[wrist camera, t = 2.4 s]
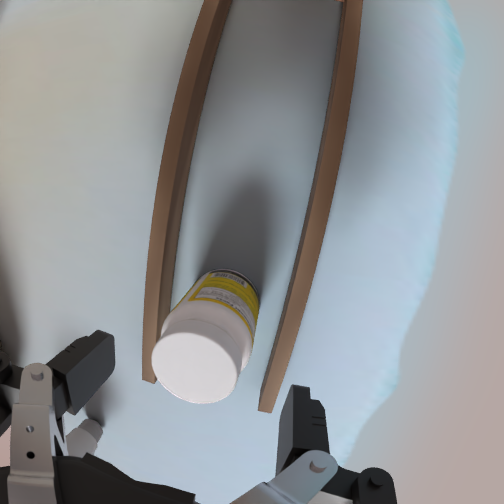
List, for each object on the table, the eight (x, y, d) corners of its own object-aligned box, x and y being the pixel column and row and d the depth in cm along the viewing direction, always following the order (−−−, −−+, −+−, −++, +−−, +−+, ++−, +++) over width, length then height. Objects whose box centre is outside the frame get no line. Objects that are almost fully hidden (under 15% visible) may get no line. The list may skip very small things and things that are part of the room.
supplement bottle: (212, 339, 21) (177, 417, 13) (180, 284, 20) (123, 342, 12) (272, 316, 20) (264, 395, 12) (241, 255, 19) (211, 307, 11)
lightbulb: (106, 405, 24) (52, 478, 14) (128, 444, 25) (88, 515, 15) (66, 398, 25) (13, 458, 14) (89, 436, 26) (47, 495, 16)
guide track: (154, 362, 22) (134, 391, 18) (228, -27, 15) (218, -57, 11) (272, 392, 22) (270, 427, 18) (357, -8, 14) (369, -38, 10)
